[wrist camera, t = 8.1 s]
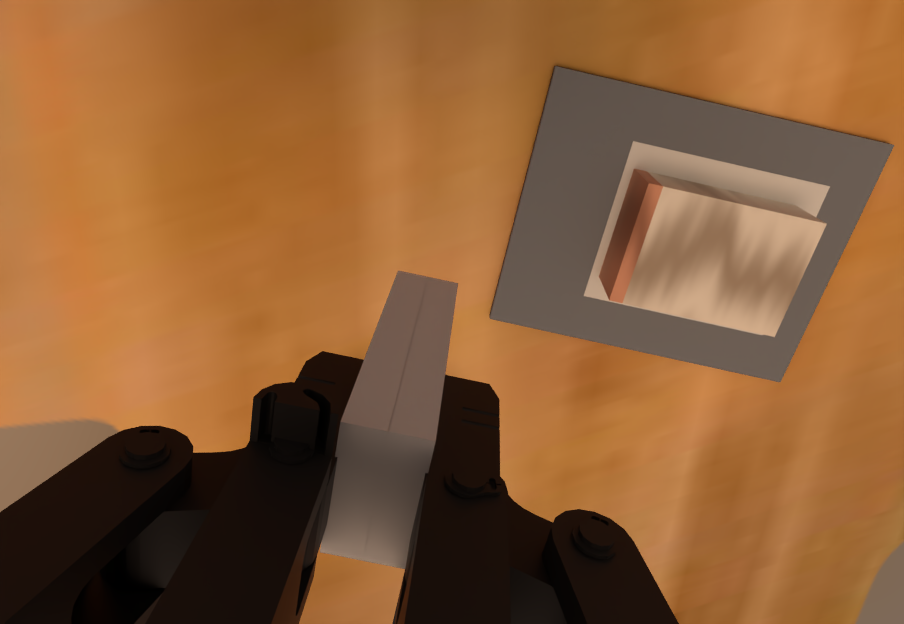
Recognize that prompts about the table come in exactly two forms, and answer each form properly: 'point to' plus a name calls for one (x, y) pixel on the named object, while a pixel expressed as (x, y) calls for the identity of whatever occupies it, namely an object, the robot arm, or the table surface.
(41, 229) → the table surface
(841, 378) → the table surface
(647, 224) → the block
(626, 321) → the mat
